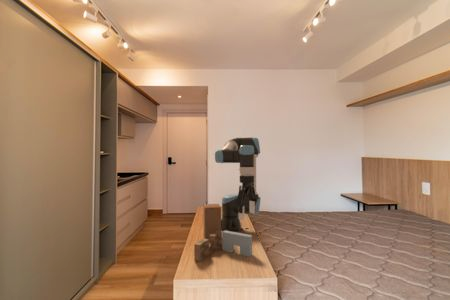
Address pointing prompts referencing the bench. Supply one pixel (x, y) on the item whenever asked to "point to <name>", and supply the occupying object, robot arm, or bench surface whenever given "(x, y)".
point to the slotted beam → (207, 246)
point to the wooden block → (211, 219)
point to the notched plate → (237, 242)
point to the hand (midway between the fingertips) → (247, 216)
